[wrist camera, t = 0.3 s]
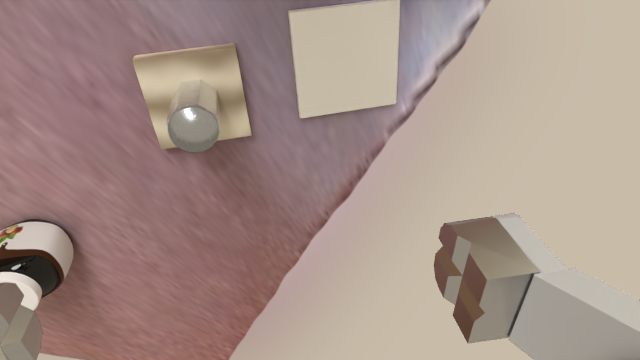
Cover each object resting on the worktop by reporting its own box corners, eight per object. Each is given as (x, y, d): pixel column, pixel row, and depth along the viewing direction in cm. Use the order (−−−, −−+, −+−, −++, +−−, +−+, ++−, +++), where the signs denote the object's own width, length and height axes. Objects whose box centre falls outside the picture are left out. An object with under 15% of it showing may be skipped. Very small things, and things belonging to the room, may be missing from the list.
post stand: (134, 55, 50) (123, 76, 44) (234, 42, 52) (237, 61, 46) (162, 142, 57) (156, 171, 51) (250, 129, 59) (254, 155, 52)
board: (287, 10, 51) (289, 12, 50) (396, -3, 53) (400, -1, 52) (298, 114, 59) (300, 118, 58) (393, 100, 61) (396, 103, 60)
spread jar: (65, 211, 60) (36, 269, 50) (93, 267, 66) (73, 328, 57) (-27, 226, 58) (-74, 289, 48) (11, 281, 64) (-24, 347, 55)
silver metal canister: (168, 83, 51) (161, 112, 44) (213, 77, 52) (213, 104, 45) (180, 123, 54) (175, 155, 47) (222, 117, 55) (223, 148, 48)
